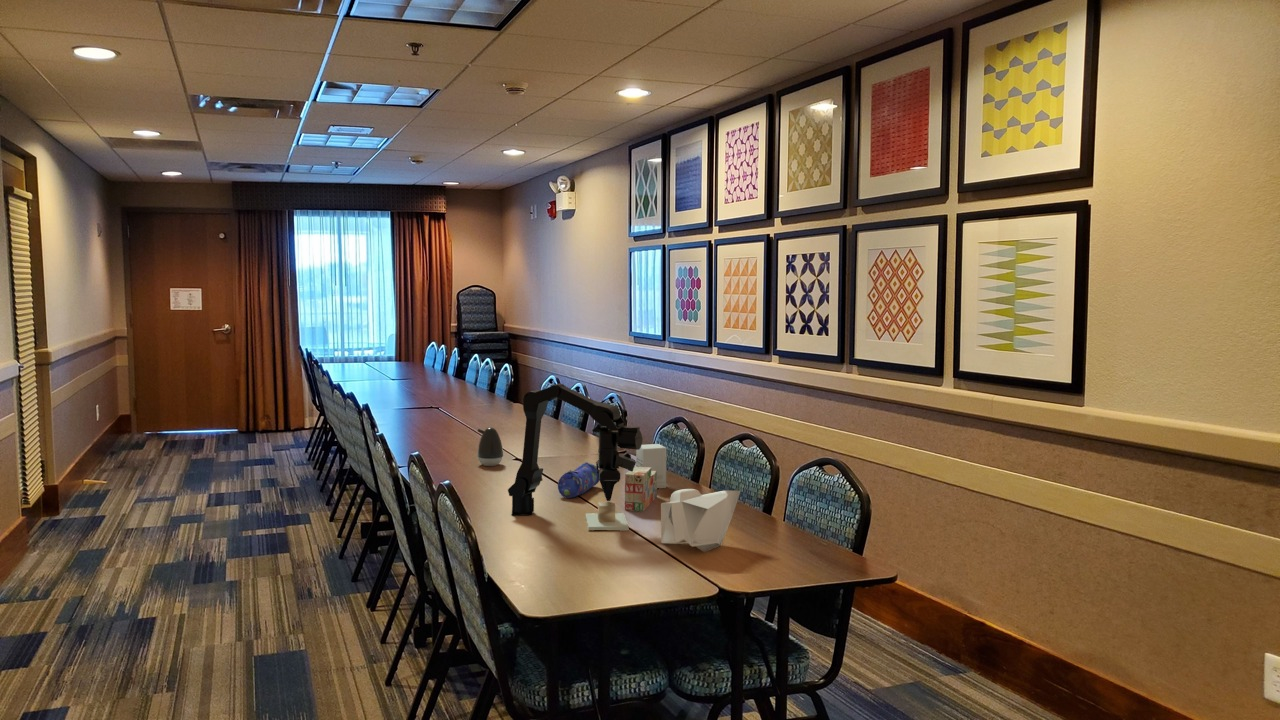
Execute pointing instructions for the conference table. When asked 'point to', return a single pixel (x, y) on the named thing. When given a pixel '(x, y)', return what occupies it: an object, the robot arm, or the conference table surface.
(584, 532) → the conference table surface
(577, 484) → the pencil case
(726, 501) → the folded paper
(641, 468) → the stack of blocks
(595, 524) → the sage board
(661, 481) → the supplement box
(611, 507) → the beige cube
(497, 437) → the grey egg-shaped body
